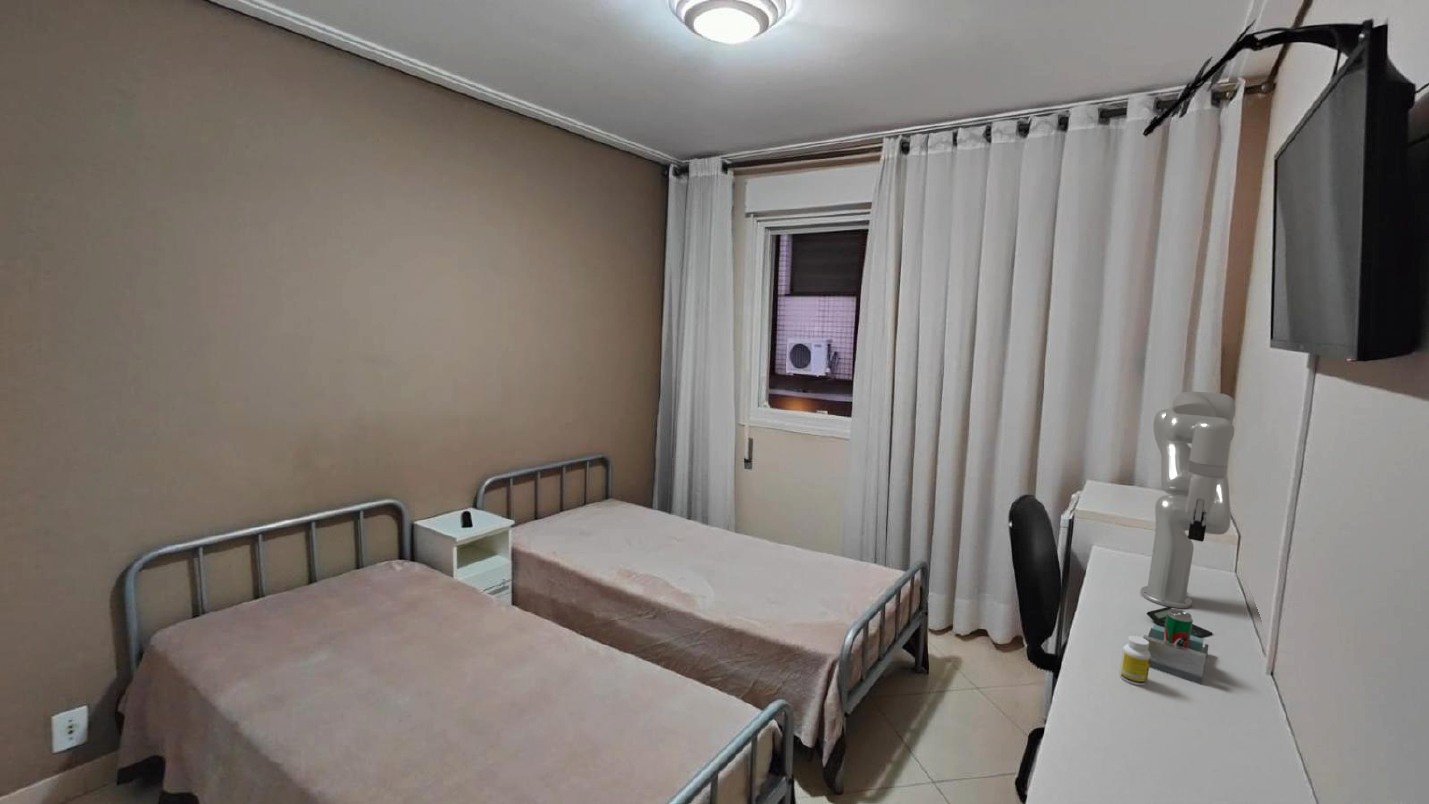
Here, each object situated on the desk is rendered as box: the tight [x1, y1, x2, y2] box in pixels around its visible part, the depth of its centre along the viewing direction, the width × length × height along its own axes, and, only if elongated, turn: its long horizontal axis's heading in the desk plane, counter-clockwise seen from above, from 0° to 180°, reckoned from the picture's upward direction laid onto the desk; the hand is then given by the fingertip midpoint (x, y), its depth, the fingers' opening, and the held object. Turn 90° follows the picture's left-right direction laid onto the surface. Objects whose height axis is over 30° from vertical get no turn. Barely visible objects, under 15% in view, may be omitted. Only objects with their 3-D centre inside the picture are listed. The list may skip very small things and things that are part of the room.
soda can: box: [1163, 608, 1194, 648], centre depth 153 cm, size 5×5×12 cm
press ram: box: [1151, 624, 1205, 653], centre depth 156 cm, size 3×10×5 cm, turn 49°
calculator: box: [1146, 606, 1213, 639], centre depth 173 cm, size 9×12×3 cm
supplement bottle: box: [1118, 635, 1151, 686], centre depth 146 cm, size 5×5×10 cm
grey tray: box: [1142, 627, 1210, 685], centre depth 156 cm, size 18×12×6 cm, turn 139°
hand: (1195, 539), depth 163 cm, fingers closed
